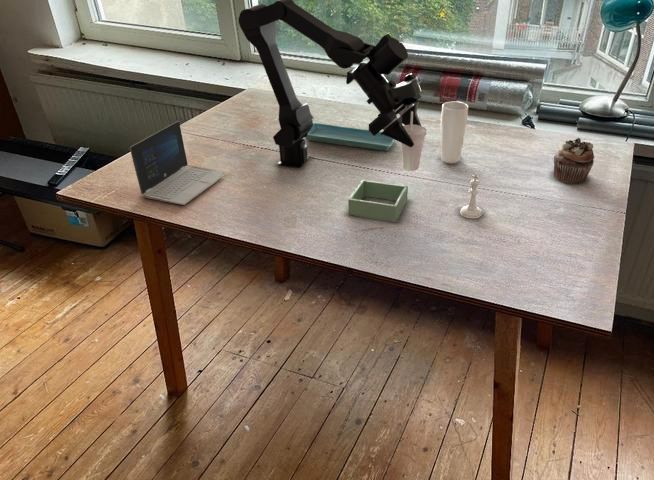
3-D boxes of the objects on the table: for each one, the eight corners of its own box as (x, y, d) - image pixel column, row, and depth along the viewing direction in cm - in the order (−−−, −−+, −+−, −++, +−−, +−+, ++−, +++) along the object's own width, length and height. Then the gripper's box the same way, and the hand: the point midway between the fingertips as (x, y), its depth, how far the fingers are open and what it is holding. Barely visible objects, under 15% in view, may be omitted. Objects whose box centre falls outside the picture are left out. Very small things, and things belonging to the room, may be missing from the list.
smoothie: (392, 164, 139) (394, 109, 131) (415, 159, 141) (418, 104, 133) (406, 175, 134) (409, 118, 126) (429, 170, 137) (433, 113, 129)
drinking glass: (462, 166, 151) (467, 110, 142) (436, 164, 152) (440, 109, 143) (463, 155, 156) (469, 101, 147) (438, 153, 157) (443, 100, 148)
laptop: (184, 207, 133) (173, 155, 126) (141, 197, 137) (128, 146, 130) (227, 175, 147) (219, 127, 139) (187, 167, 151) (177, 120, 143)
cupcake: (595, 176, 145) (605, 139, 140) (578, 189, 140) (587, 151, 134) (561, 165, 151) (569, 129, 145) (543, 177, 145) (550, 140, 139)
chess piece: (476, 220, 128) (482, 180, 122) (456, 214, 130) (460, 175, 124) (485, 211, 131) (490, 171, 125) (465, 205, 133) (470, 166, 127)
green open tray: (348, 214, 130) (348, 199, 128) (362, 194, 138) (362, 179, 136) (395, 222, 127) (396, 206, 125) (407, 201, 135) (407, 186, 133)
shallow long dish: (398, 140, 165) (398, 132, 163) (389, 153, 158) (389, 144, 156) (314, 130, 171) (313, 122, 170) (302, 141, 164) (301, 133, 163)
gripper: (382, 76, 118) (428, 136, 121) (415, 54, 132) (456, 108, 135) (349, 107, 126) (393, 163, 129) (383, 83, 139) (422, 134, 142)
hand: (417, 141), depth 133 cm, fingers closed on smoothie, 6 cm apart
